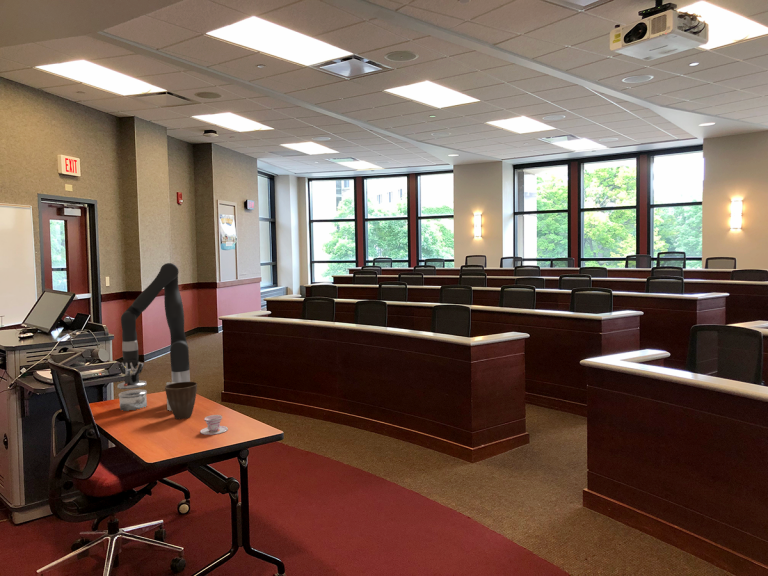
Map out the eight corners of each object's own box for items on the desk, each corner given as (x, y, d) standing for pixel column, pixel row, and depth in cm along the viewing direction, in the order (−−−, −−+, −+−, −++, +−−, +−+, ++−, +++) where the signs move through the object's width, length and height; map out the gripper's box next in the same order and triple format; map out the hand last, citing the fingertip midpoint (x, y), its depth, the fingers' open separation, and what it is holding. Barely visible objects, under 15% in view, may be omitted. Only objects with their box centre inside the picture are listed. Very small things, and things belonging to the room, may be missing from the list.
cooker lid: (151, 382, 307) (151, 371, 307) (137, 389, 293) (136, 377, 293) (127, 382, 309) (127, 371, 309) (111, 388, 295) (111, 376, 295)
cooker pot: (152, 404, 308) (151, 389, 307) (138, 411, 294) (137, 395, 294) (129, 403, 310) (128, 389, 309) (113, 411, 296) (112, 395, 296)
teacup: (206, 427, 264) (205, 413, 264) (231, 426, 263) (231, 413, 263) (195, 435, 252) (195, 421, 252) (222, 435, 251) (222, 421, 251)
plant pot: (161, 422, 274) (159, 389, 273) (174, 413, 289) (172, 381, 288) (191, 421, 273) (189, 388, 272) (203, 412, 288) (201, 381, 287)
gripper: (146, 348, 303) (148, 380, 304) (122, 348, 305) (123, 380, 306) (138, 350, 295) (140, 383, 296) (113, 350, 297) (115, 383, 299)
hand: (132, 381), depth 301 cm, fingers closed on cooker lid, 3 cm apart
